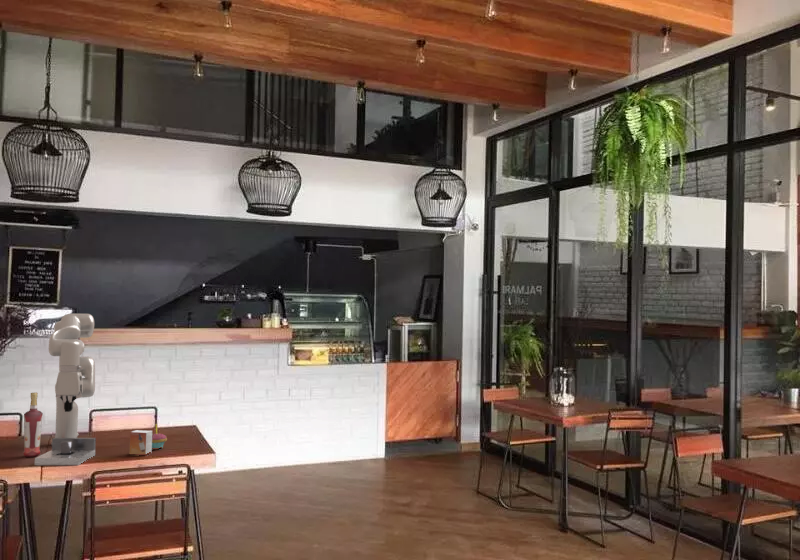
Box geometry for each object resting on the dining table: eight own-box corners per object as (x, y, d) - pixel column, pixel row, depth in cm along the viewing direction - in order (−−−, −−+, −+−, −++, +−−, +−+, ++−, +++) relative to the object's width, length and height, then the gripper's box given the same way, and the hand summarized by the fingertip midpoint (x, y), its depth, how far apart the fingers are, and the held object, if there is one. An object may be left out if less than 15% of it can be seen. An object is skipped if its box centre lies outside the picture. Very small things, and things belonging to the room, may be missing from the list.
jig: (53, 455, 299) (54, 437, 300) (95, 455, 301) (95, 437, 301) (34, 465, 281) (35, 446, 282) (78, 465, 283) (79, 446, 283)
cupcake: (144, 448, 317) (145, 423, 318) (161, 446, 323) (162, 421, 324) (152, 451, 311) (153, 425, 312) (169, 448, 317) (170, 423, 318)
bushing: (62, 459, 293) (63, 440, 293) (73, 459, 293) (73, 440, 294) (58, 461, 289) (58, 442, 289) (68, 461, 289) (69, 442, 289)
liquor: (41, 457, 296) (43, 393, 297) (22, 458, 293) (24, 394, 294) (40, 453, 303) (43, 391, 304) (22, 455, 299) (24, 392, 300)
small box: (129, 455, 303) (129, 431, 303) (135, 452, 308) (136, 429, 309) (145, 456, 302) (146, 432, 302) (151, 453, 307) (152, 430, 308)
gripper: (90, 368, 297) (89, 410, 297) (56, 368, 296) (54, 409, 296) (83, 370, 290) (82, 413, 289) (48, 369, 289) (46, 412, 288)
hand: (68, 411), depth 292 cm, fingers closed
